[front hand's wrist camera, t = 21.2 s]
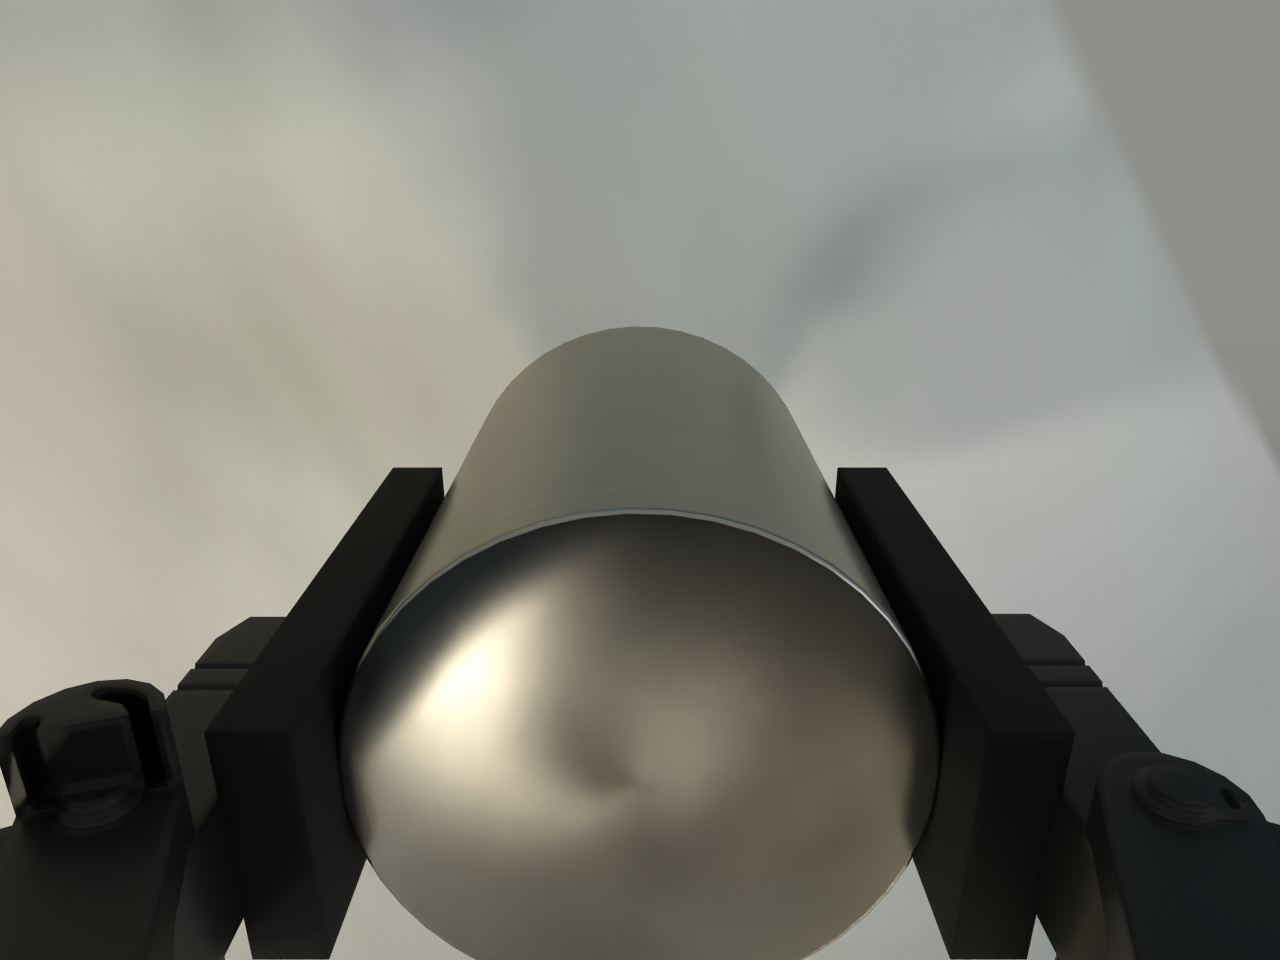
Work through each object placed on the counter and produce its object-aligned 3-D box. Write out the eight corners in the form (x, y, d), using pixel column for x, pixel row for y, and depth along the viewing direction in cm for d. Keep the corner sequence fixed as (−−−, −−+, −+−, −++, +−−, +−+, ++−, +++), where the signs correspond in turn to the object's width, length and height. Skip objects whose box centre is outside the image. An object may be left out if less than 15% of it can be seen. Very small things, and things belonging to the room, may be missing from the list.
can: (779, 649, 18) (878, 1018, 10) (467, 623, 18) (343, 981, 10) (834, 343, 15) (1008, 540, 8) (476, 309, 15) (326, 480, 8)
